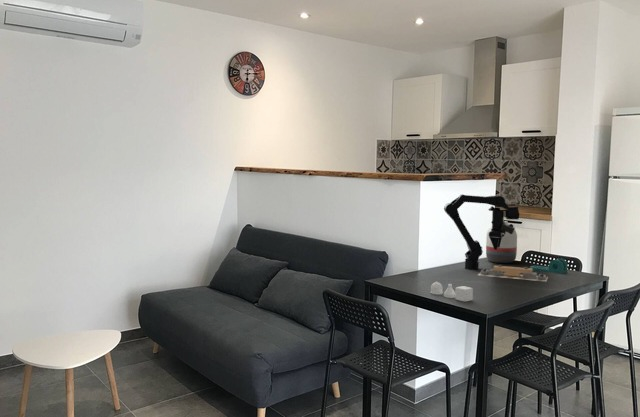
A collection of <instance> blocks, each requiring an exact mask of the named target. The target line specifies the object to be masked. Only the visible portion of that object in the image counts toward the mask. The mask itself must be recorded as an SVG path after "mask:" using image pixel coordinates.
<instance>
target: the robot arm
mask: <svg viewBox="0 0 640 417" xmlns="http://www.w3.org/2000/svg"><path fill="white" fill-rule="evenodd" d="M465 203H472V204H473V203H475V204H486V205H490V208H488V211H489V212H492V215H491V216H492V217H491V218H492V219H491V221H490V222H491V227H492V229H491V231H490V232H489V238H490V240H491V242H492V245H493V247H494V249H495V250H497V247H500V244H501V240H502V237H503V236H504V235H505V234H506V232H508V233H509V234H513V232H514V230H515V231H516V228H515V227H514V224H512V223H509V225H506V224H505V222H504V221H505V220H504V219H506V220H519V219H520V212H519V211H520V209H519V206H509V205H508V204H507V202H506V198H505V197H504V196H503V195H502V196H501V195H489V196H482V195H470V194H466V195H465V194H463V193H462V194H460V195H459V196H457V197H456V198H455V199H453V200H452V201H450V202H448V203H446V204H445V205H444V207H443V210H444V212H445V213H446V215H447V216H448V217H449V218H450V219H451V220H452V221H453V223H454V224H455V226H456V228H457V229H458V231H459V232H460V234H461V236H462V238H463V239H464V241H465V243H466V246H467V249H468V251H466V252H465V253H464V257H465V258H464V260H465V261H464V264H465V265H464V269H466V270H470V271H473V270H474V271H479V270H480V262H479V259H480V257H481V256H482V255H483V252H484V251H483V247H482V246H481V244H480V242H479V240H477V239H476V240H474V238H473V236H472V235H471V234H470V232H469V230H468V229H467V227H466V225H465V224H464V221H463V220H462V219H461V216H460V212H459V208H460V207H462V205H463V204H465ZM503 233H504V234H503Z"/></svg>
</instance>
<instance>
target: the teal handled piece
mask: <svg viewBox="0 0 640 417" xmlns="http://www.w3.org/2000/svg"><path fill="white" fill-rule="evenodd" d="M529 268H532V269H533V270H532V272H534V271H535V272H545V273H547V272H548V273H553V274H561V275H562V274H568V268H569V266H568V262H567V260H565V258H557V259H552V260H550V261H549V263H548V266H541V265H531V266H530V267H529Z"/></svg>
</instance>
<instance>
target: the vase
mask: <svg viewBox="0 0 640 417" xmlns="http://www.w3.org/2000/svg"><path fill="white" fill-rule="evenodd" d="M504 222H505V224H506V225H510V223H509V222H508V221H506V220H504ZM491 229H492V226H490V227H489V228H488V230H487V232H486V237H485V238H486V240H485V241H486V242H485V243H486V244H485V245H486V246H485V256H486V259H487V260H488V261H489V262H492V263H495V264H511V263H514V262H515V260H516V258H517V253H518V252H517V250H518V234H517V231H516V229H515V230H514V232H513V234H509V233H508V232H506V234H505V235H504V236H503V237H502V240H501V244H500V247H497V250H495V249H494V247H493V245H492V242H491V240H490V238H489V232H490V231H491ZM503 234H504V233H503Z"/></svg>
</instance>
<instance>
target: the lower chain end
mask: <svg viewBox="0 0 640 417" xmlns="http://www.w3.org/2000/svg"><path fill="white" fill-rule="evenodd" d="M480 272H481V274H483V275H487V274H488V273H489V275H494V276H502V274H503V273H504V272H502V271H493V268H490V269H486V268H483V269H481V270H480Z"/></svg>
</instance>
